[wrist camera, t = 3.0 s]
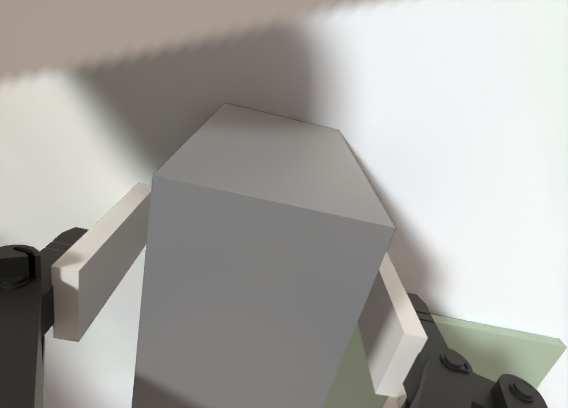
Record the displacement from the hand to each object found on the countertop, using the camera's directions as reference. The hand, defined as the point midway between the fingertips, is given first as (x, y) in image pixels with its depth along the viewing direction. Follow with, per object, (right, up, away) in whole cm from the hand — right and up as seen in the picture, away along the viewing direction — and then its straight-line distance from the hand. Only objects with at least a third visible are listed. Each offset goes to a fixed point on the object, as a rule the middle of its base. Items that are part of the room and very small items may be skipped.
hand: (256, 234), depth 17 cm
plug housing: (0, 0, +1) cm, 1 cm away
